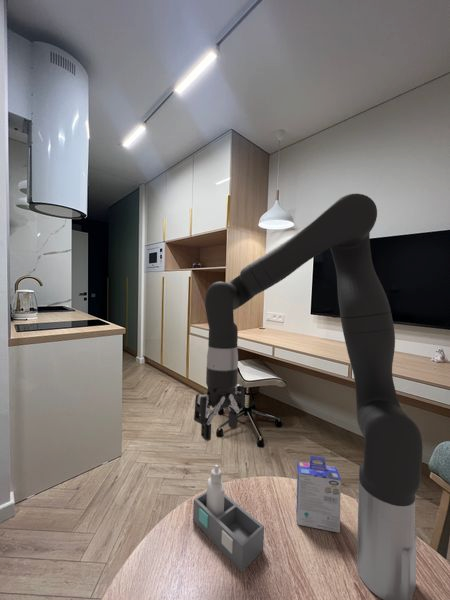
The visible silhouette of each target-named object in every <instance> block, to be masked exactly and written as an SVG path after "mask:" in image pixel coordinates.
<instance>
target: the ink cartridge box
mask: <svg viewBox="0 0 450 600" xmlns="http://www.w3.org/2000/svg"><path fill="white" fill-rule="evenodd" d="M317 460H318V461H319V462H322V464H320V463H315V462H313V461H317ZM296 463H297V466H296V467H297V471H296V472H297V473H296V509H295V515H296V516H295V517H296V524H297V525H298V526H302V527H303V526H304V527H309V528H312V529H313V528H314V529H320V530H323V531H329V532H334V533H338V534H339V533H341V494H342V492H341V491H342V478H341V476H340V474H339V470H338V468H337V466H331V465H327V464H326V458H325V457H321V456H315V455H309V462H304V461H303V462H301V461H297V462H296Z"/></svg>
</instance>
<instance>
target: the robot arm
mask: <svg viewBox="0 0 450 600" xmlns="http://www.w3.org/2000/svg"><path fill="white" fill-rule="evenodd" d="M377 218H378V208H377V205H376V203H375V201H374V200H373V199H372V198H371V197H369V196H368V195H365V194H362V193H350V194H346V195H344V196H341V197H339V198H338V199H337V200H336V201H334V202H333V203H332V204H331V205H329V207H327V208H326V209H325V210H324V211H323V212H322V213H321V214H319V215H318V216H317V217H316V218H315V219H314V220H313V221H311V222H310V223H308V224H307V225H306V226H305V227H303V228H302V229H300V231H299V232H297V233H295V234H294V235H293V236H292V237H290V238H289V239H287V240H286V241H284V242H283V243H281V244H280V245H278V246H277V247H275V248H273V249H272V250H270V251H267V253H266V254H264V255H262V256H260V257H259V258H257V259H256V260H254V261H253V262H251V263H249V264H247V265H246V266H245V267H243V268H242V269H241V270H240V273H239V275H238V276H236V277H235V278H234V279H233V278H232V280H230V281H228V282H225V281H215V282H213V283H211V285H209V287H208V288H207V291H206V292H205V298H204V301H205V302H204V306H205V313H206V320H207V324H208V343H207V344H208V346H207V354H206V377H205V378H206V379H205V380H206V381H205V383H206V387H207V391H206V393H205V394H201V393H197V394H196V395H195V402H194V403H195V404H194V415H193V420H194V422H196V423H199V424H200V425H201V426H200V428H201V429H200V431H201V432H200V436H201V437H202V439H203V440H205V441H206V442H209V441H211V440H212V421H213V420H214V417H216V416H217V415H218V413H219V412H220V411H221V410H223V409H227V408H228V410H230V411H228V427H229V428H231V429H232V430H236V429H237V426H238V421H239V420H238V419H239V417H238V416H239V413H240V410H243V409H244V408H245V386H244V385H242V384H240V383H238V375H239V374H238V372H239V371H238V368H239V354H238V353H239V352H238V338H239V337H238V336H239V335H238V334H239V333H238V332H239V331H238V326H237V324H236V323H235V319H234V310H236V309H239V308H240V307H241V306H244V305H245V304H246V303H248V302H249V301H250V300H252V299H253V298H254V297H255V296H256V295H258V294H260V293H263V292H264V291H266V290H268V289H270V288H271V287H273V286H275V285H276V284H278V283H280V282H282V281H283V280H284V279H286V278H287V277H288V276H290V275H292V274H293V273H295V271H297V269H299V268H300V267H302V266H303V265H304V264H306V263H307V262H308V261H310V260H312V259H313V258H315V257H317V256H318V255H320V254H322V253H323V252H325V251H328V250H330V252H331V256H332V259H333V263H334V266H335V273H336V280H337V281H336V284H337V286H336V287H337V298H338V299H337V301H338V307H339V315H340V321H341V322H340V323H341V328H342V334H343V337H344V342H345V347H346V351H347V355H348V358H349V363H350V366H351V369H352V373H353V379H354V385H355V386H354V387H355V400H356V401H355V402H356V403H355V404H356V420H357V424H358V428H359V430H360V432H361V434H362V435H363V438H364V453H363V455H364V456H363V462H362V463H361V464H360V465H359V467H358V469H359V470H358V503H357V504H358V506H357V538H356V539H357V541H356V543H357V544H356V548H357V549H356V569H357V573H358V575H359V578H360V579H361V581H362V582H363V583H364V585H365V587H367V589H368V590H370V591H371V592H372V593H373V595H375V596H376V597H378V598H380V599H381V600H413V598H414V594H415V591H416V587H417V546H418V544H417V543H418V542H417V541H418V538H417V537H418V536H417V534H416V533H415V526H416V525H415V523H416V522H415V519H416V513H415V512H416V493H417V492H418V490H419V488H420V487H421V486H420V485H421V478H422V467H423V466H422V463H423V450H424V449H423V448H424V447H423V437H422V433H421V431H420V429H419V427H418V425H417V424H416V422H414V421H413V420H412V418H410V416H409V415H407V413H405V411H403V409H402V407H401V404H400V401H399V398H398V395H397V391H396V387H395V386H396V385H395V384H394V378H393V365H394V357H395V356H394V355H395V347H396V334H395V333H396V332H395V327H394V320H393V316H392V315H393V314H392V311H391V306H390V303H389V299H388V296H387V294H386V291H385V290H384V287H383V285H382V283H381V281H380V279H379V277H378V275H377V273H376V270H375V267H374V264H373V260H372V251H371V241H370V236H371V235H370V233H371V231H373V229H374V226H375V224H376V222H377ZM211 408H213V409H211Z"/></svg>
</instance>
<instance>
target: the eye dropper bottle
mask: <svg viewBox="0 0 450 600" xmlns="http://www.w3.org/2000/svg"><path fill="white" fill-rule="evenodd" d="M206 484H207V485H206V491H207V503H206V508H207V509H208V510H210V511H211V512H212V513H213V514H214V515H215V516H216V517H219V516H220V515H221V514H223V513H224V494H225V485H224V483H223V481H222V470H221V469H220V468H219V465H218V464H215V465H214V468H213V469H211V471H210V477H209V478H208V479H207V483H206Z"/></svg>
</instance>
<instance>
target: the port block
mask: <svg viewBox="0 0 450 600" xmlns="http://www.w3.org/2000/svg"><path fill="white" fill-rule="evenodd" d="M206 503H207V490H206V491H204V492H203V493H202V494H200V495H198V496H196V497H195V498H194V499H193V511H192V522H194V523H195V524H196V525H197V526H198V528H199V529H200V530H201V531H202V532H203V533H204V534H205V535H206V537H208V538H209V539H210V540H211V541H212V543H214V545H215V546H216V547H217V548H218V549H219V550H220V551H221V553H223V554H224V555H225V556H226V557H227V559H228V560H229V561H230V562H231V563H232V564H233V565H234V566H235V567H236V568H237V569H238V570H239V571H240V572H241V573H243V572H244V571H245V569H247V568H248V567H249V566H250V564H252V562H253V561H254V560H255V559H256V558H257V557H258V556H259V555H260V554H261V553H262V552H263V551H264V538H265V526H264V524H262V523H261V522H260V521H258V520H257V519H256V518H255V517H254V516H252V515H251V514H250V513H248V512H247V511H246V510H245V508H244V507H243V508H242V506H240V505H239V504H237V502H235V501H234V500H233V499H231V498H230V497H229V496H228V495H227V494H225V493H224V513H223V514H221V515H220V516H219V517H216V516H215V515H214V514H213V513H212V512H211V511H210V510H208V509H207V508H206Z"/></svg>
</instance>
